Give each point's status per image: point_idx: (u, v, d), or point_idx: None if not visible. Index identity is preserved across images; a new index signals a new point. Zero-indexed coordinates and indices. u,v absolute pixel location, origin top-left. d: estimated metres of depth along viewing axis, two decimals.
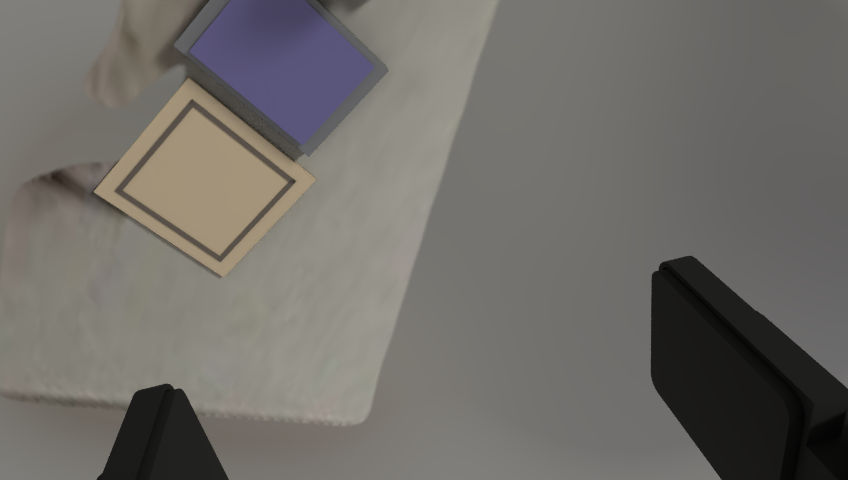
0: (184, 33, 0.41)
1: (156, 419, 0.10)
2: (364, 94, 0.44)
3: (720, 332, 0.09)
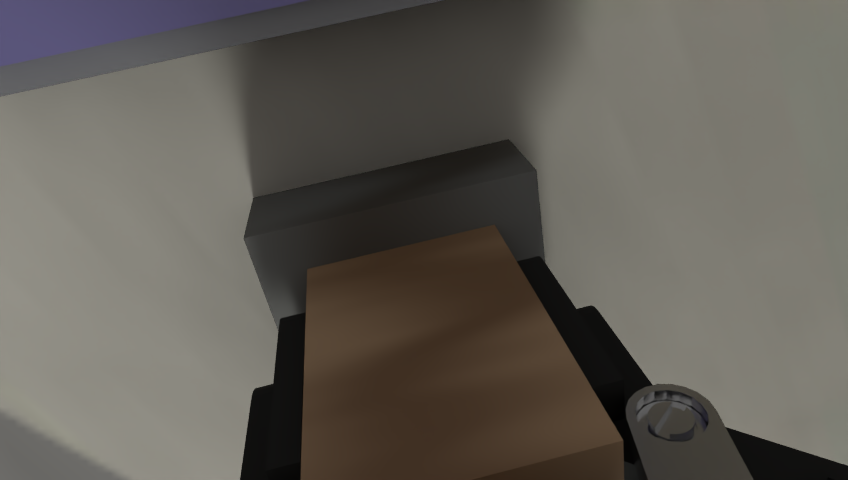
0: None
1: None
2: None
3: None
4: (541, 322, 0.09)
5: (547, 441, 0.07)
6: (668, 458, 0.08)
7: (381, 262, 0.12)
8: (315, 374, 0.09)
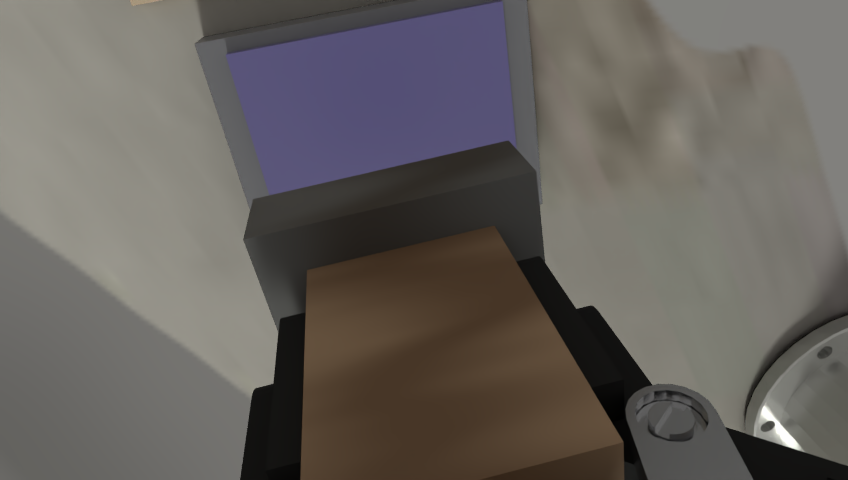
0: (525, 14, 0.22)
1: None
2: None
3: None
4: (541, 323, 0.09)
5: (548, 443, 0.07)
6: (668, 458, 0.08)
7: (380, 263, 0.12)
8: (315, 375, 0.09)
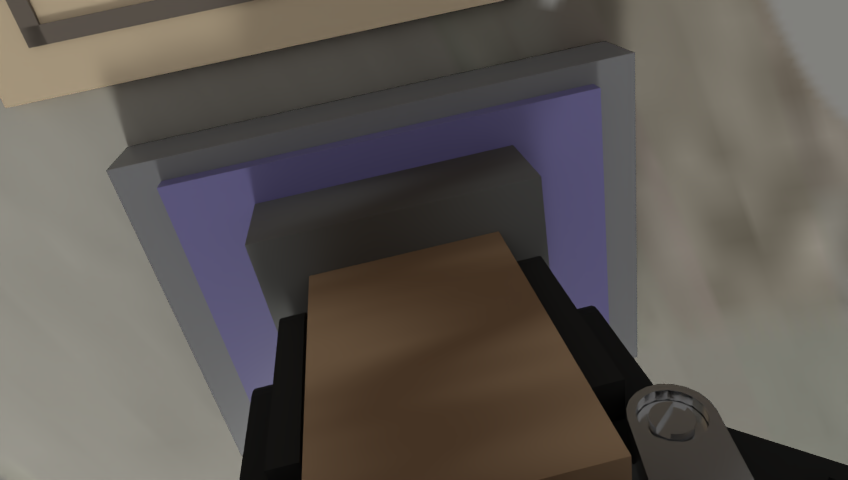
0: (631, 103, 0.14)
1: (305, 339, 0.11)
2: (215, 390, 0.16)
3: None
4: (546, 332, 0.09)
5: (554, 457, 0.07)
6: (669, 458, 0.08)
7: (383, 269, 0.12)
8: (316, 384, 0.09)
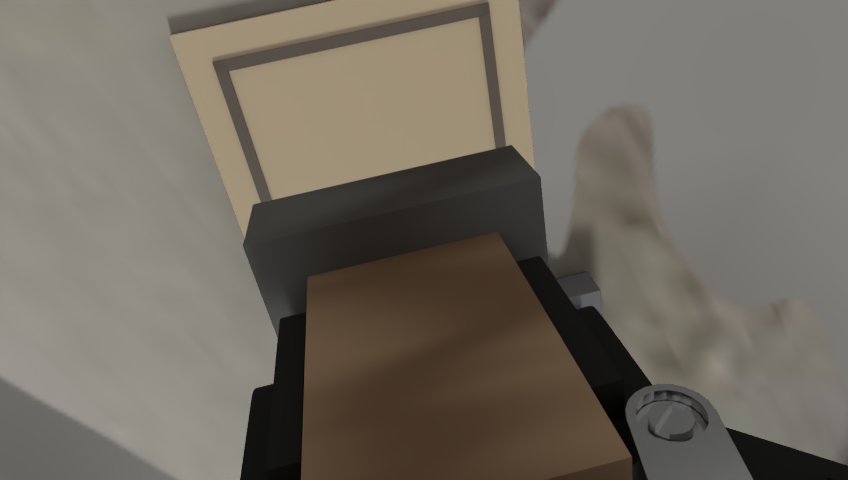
0: (599, 312, 0.26)
1: None
2: None
3: None
4: (546, 333, 0.09)
5: (554, 458, 0.07)
6: (668, 458, 0.08)
7: (382, 270, 0.12)
8: (315, 386, 0.09)
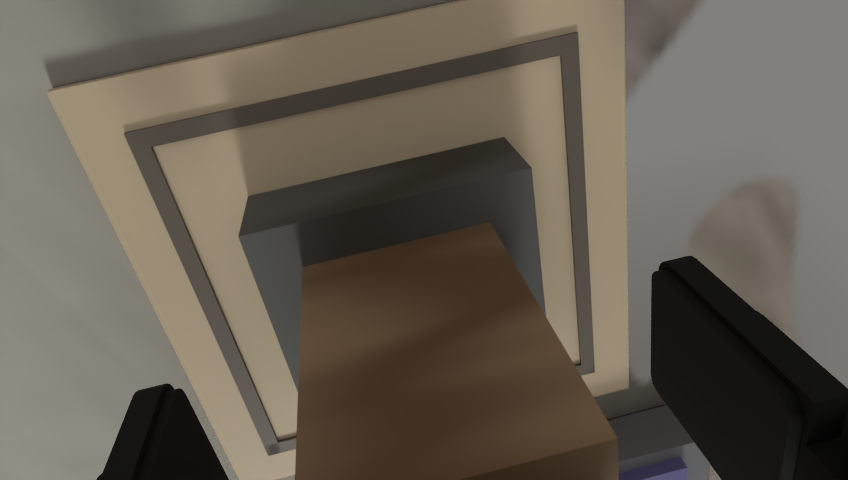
0: (707, 464, 0.19)
1: (156, 419, 0.10)
2: None
3: (720, 332, 0.09)
4: (536, 320, 0.09)
5: (543, 439, 0.07)
6: None
7: (376, 260, 0.12)
8: (310, 372, 0.09)
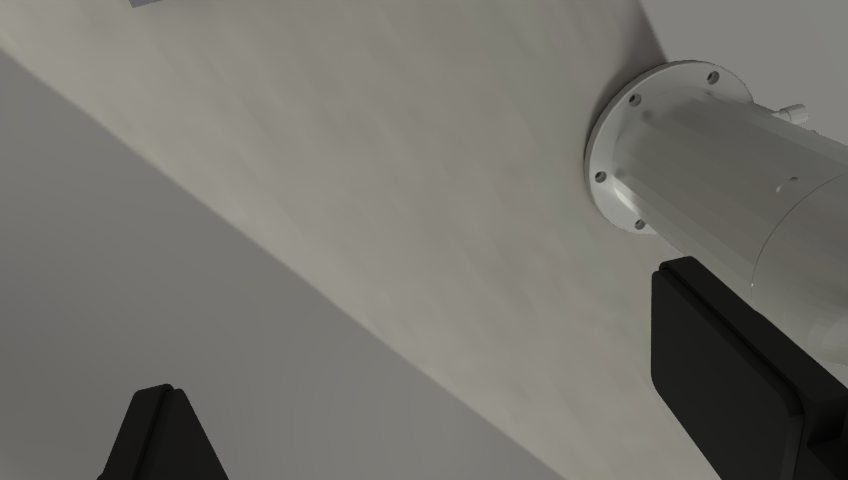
0: None
1: (156, 419, 0.10)
2: None
3: (720, 332, 0.09)
4: None
5: None
6: None
7: None
8: None
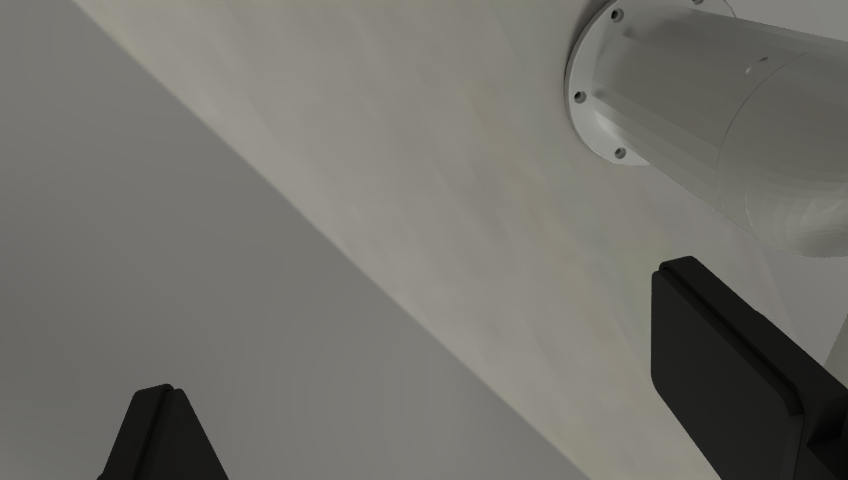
0: None
1: (156, 419, 0.10)
2: None
3: (720, 332, 0.09)
4: None
5: None
6: None
7: None
8: None
